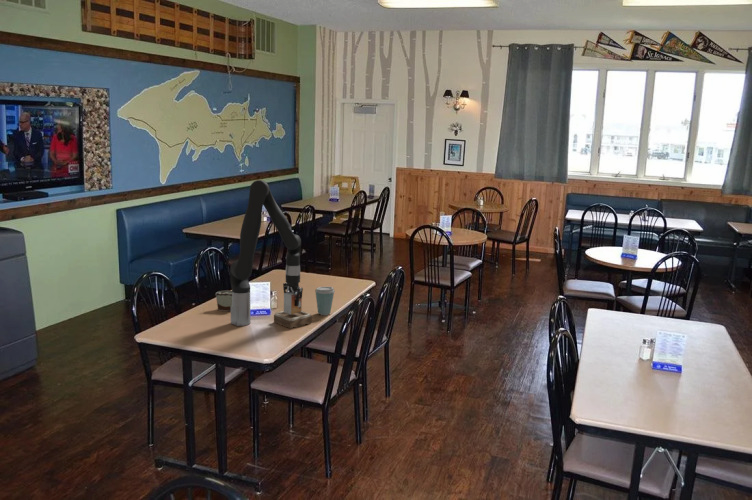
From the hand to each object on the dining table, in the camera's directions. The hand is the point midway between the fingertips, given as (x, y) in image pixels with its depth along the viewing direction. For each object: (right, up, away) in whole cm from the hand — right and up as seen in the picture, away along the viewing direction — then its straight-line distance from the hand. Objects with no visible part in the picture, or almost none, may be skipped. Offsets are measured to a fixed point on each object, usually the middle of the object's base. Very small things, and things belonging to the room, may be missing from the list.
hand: (292, 304), depth 336 cm
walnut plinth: (0, -10, +2) cm, 10 cm away
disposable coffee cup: (+15, -7, +19) cm, 25 cm away
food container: (-39, -5, +22) cm, 45 cm away
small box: (0, -4, +1) cm, 4 cm away
